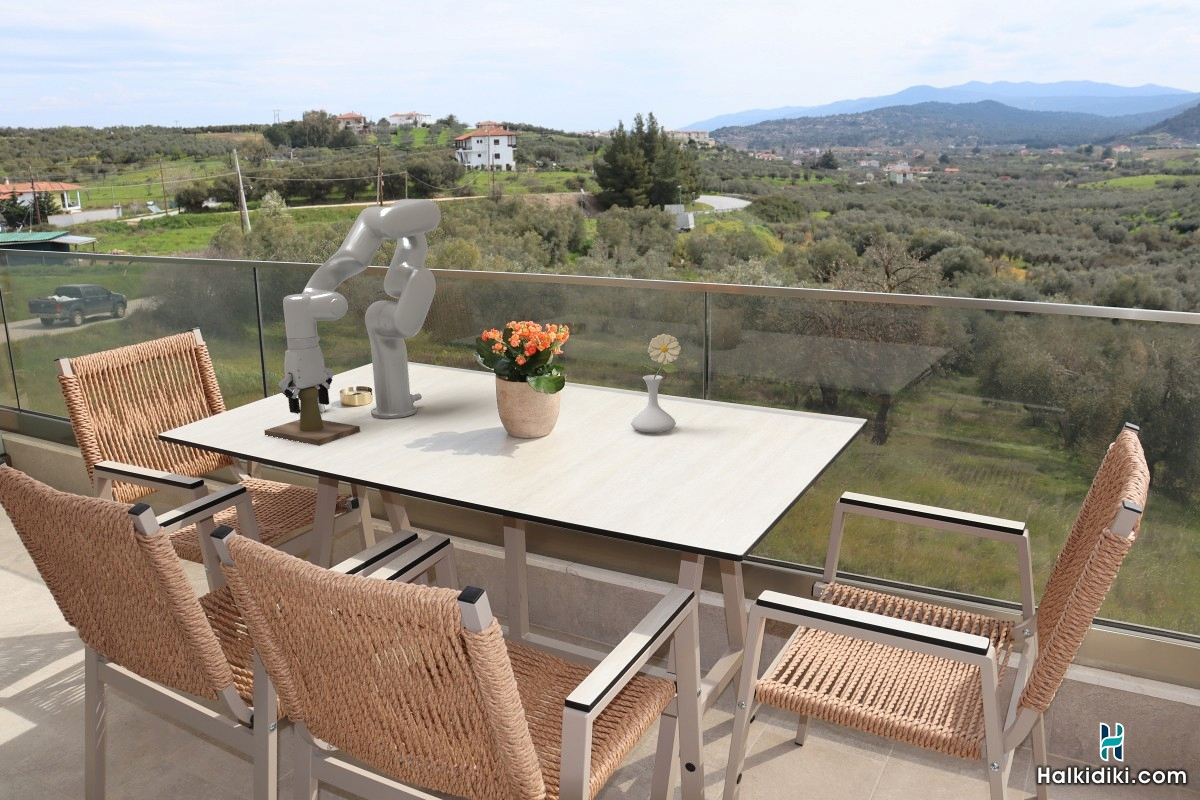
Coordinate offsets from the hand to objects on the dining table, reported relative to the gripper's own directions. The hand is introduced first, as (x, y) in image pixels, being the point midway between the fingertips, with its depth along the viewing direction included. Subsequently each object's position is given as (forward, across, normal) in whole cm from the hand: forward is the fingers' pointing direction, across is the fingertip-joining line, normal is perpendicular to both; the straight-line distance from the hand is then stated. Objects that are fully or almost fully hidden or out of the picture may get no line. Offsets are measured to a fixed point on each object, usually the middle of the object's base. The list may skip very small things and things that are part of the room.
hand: (310, 408), depth 236 cm
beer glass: (+7, -16, -17) cm, 24 cm away
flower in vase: (+7, -42, +79) cm, 90 cm away
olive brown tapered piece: (+5, 0, 0) cm, 6 cm away
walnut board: (+7, 0, 0) cm, 7 cm away
